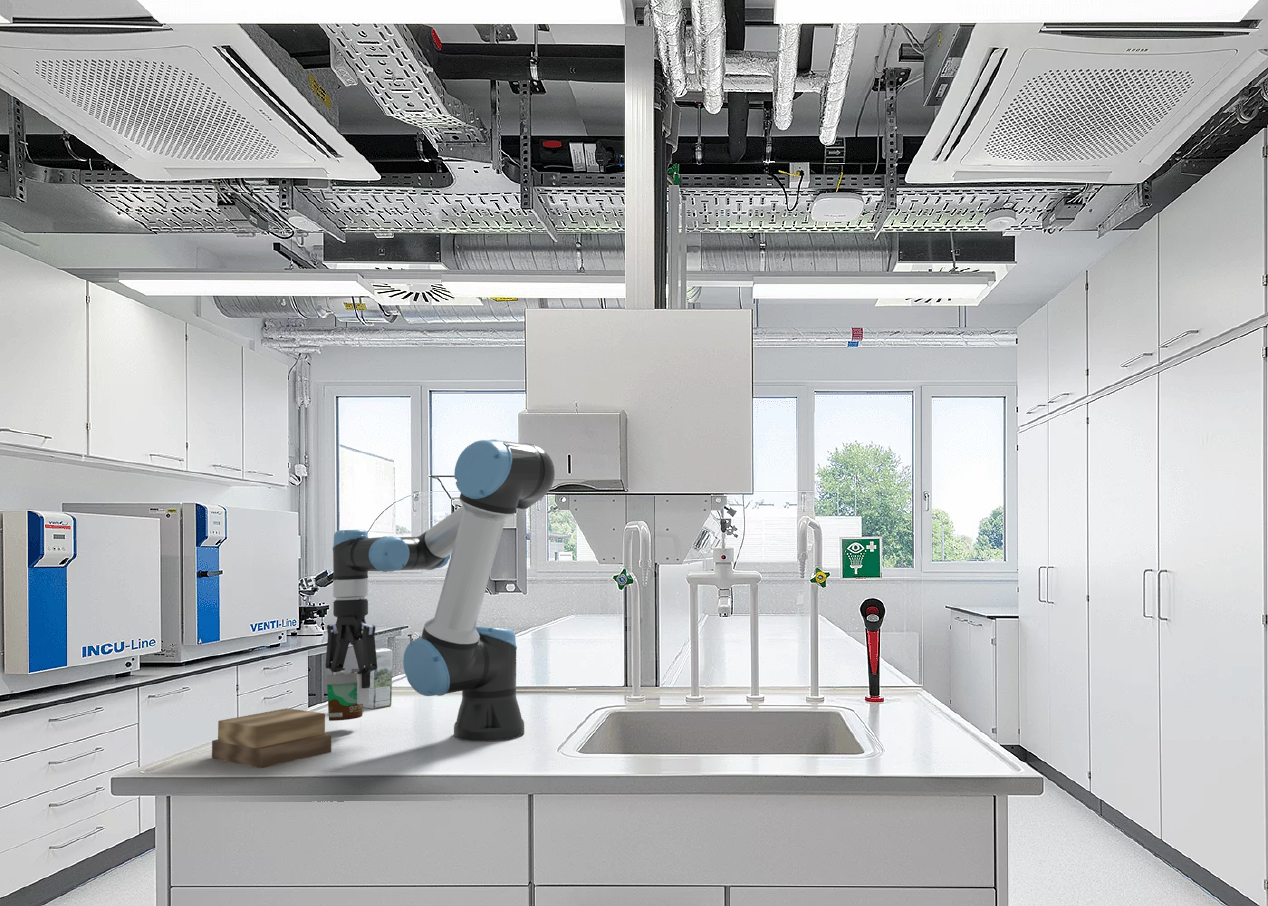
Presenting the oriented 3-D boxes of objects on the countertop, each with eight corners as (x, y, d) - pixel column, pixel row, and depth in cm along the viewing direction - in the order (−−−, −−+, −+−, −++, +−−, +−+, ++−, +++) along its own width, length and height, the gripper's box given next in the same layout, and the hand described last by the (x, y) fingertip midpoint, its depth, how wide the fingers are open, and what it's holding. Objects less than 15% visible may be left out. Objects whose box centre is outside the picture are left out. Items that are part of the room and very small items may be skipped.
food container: (351, 722, 211) (351, 675, 212) (325, 722, 212) (325, 675, 213) (377, 712, 223) (377, 668, 224) (352, 712, 224) (352, 668, 225)
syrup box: (378, 704, 254) (378, 647, 255) (392, 706, 250) (392, 648, 251) (359, 707, 250) (360, 649, 251) (373, 709, 246) (374, 651, 247)
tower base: (331, 755, 197) (331, 734, 197) (261, 771, 184) (261, 749, 184) (281, 746, 206) (282, 726, 206) (211, 761, 193) (212, 740, 193)
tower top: (324, 733, 199) (325, 713, 199) (256, 748, 185) (256, 726, 186) (286, 727, 205) (287, 708, 205) (217, 741, 192) (218, 720, 192)
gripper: (394, 597, 218) (395, 702, 216) (335, 597, 229) (335, 697, 227) (367, 599, 212) (368, 707, 210) (308, 599, 223) (308, 701, 221)
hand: (351, 702), depth 218 cm, fingers closed on food container, 7 cm apart
